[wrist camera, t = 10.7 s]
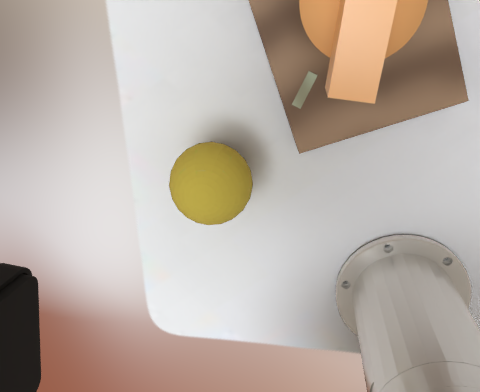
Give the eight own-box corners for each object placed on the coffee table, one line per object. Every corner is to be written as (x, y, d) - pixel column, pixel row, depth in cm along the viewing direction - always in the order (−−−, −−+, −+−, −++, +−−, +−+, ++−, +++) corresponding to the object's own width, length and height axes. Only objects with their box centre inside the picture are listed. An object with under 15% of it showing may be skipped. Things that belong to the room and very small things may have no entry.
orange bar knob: (314, -94, 27) (316, -138, 20) (432, -82, 27) (480, -124, 19) (287, 84, 31) (282, 103, 24) (390, 97, 30) (417, 121, 23)
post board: (460, 97, 38) (498, 114, 30) (299, 147, 41) (298, 174, 34) (404, -174, 32) (433, -234, 24) (222, -89, 35) (199, -119, 28)
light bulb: (232, 111, 41) (210, 136, 31) (274, 170, 42) (265, 211, 33) (176, 150, 43) (140, 185, 34) (217, 205, 44) (194, 253, 35)
